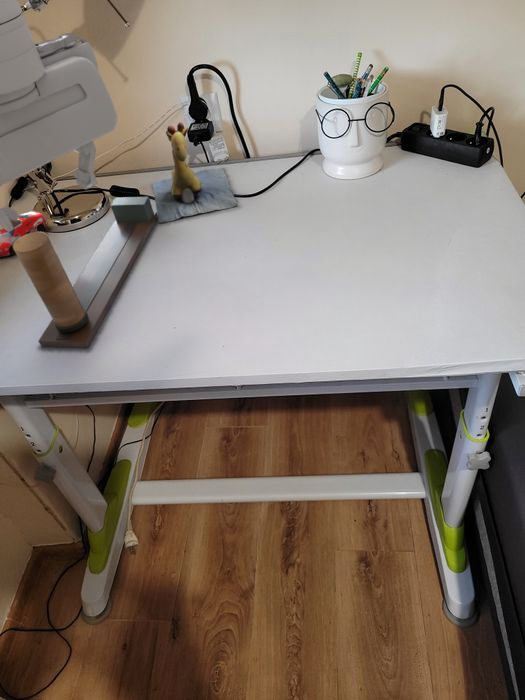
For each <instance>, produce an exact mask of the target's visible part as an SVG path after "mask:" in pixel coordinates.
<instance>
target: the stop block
mask: <svg viewBox="0 0 525 700" xmlns="http://www.w3.org/2000/svg"><path fill="white" fill-rule="evenodd" d="M110 208H111V210H112V213H113V216H114V219H115V220H116V222H150V220H151V218H152V217H153V215H154V209H153V206H152V203H151V199H150V197H149V196H127V197H126V196H125V197H124V196H123V197H122V196H121V197H115V198H114V199H113V201H112V203H111V204H110Z"/></svg>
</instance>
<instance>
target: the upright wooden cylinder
mask: <svg viewBox="0 0 525 700" xmlns="http://www.w3.org/2000/svg"><path fill="white" fill-rule="evenodd" d="M49 237H50V236H49V235H48V234H47V233H46V232H33V233H29V234H26V235H24V236H22V237H20V238H19V239H17V240H16V241H15V243H14V244H13V249H14V251H15V253H16V254H15V255H16V257H17V258H18V259H19V261H20V264H21V265H22V267H23V269H24V271H25V272H26V275H27V276H28V278H29V279H30V281H31V283H32V286H33V287H34V288H35V290H36V292H37V294H38V295H39V298H40V299H41V301H42V303H43V304H44V306H45V308H46V310H47V312H48V313H49V315H50V317H51V320H52V319H53V323H54V325H55V327H56V329H57V330H58V331H60V332H64V333H68V332H73V331H76V330H78V329H80V328H81V327H83V326H84V325H85V324H86V322H87V321H88V314H87V312H86V310H85V309H84V308H83V307H82V305H81V303H80V301H79V299H78V297H77V295H76V292H75V290H74V288H73V286H74V285H72V282H71V280H70V278H69V276H68V274H67V272H66V270H65V268H64V266H63V264H62V262H61V260H60V258H59V256H58V254H57V252H56V250H55V248H54V245H53V244H52V242H51V239H50V238H49Z"/></svg>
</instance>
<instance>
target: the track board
mask: <svg viewBox="0 0 525 700" xmlns="http://www.w3.org/2000/svg"><path fill="white" fill-rule="evenodd" d="M153 212H154V211H153ZM158 220H159V219H158V214H157V211H155V212H154V215H153V217H152V218H151V220H150V222H116V219H115V220H114V222H113V223H112V225H111V226H110V228H109V229H108V231H107V233H106V234H105V236H104V237H103V239H102V241H101V242H100V243H99V245H98V247H97V248H96V250H95V251H94V253H93V255H92V256H91V258H90V260H89V261H88V263H87V264H86V265H85V267H84V269H83V270H82V272H81V274H80V275H79V276H78V278H77V279H76V281H75V283H74V284H73V285H72V286H73V288H74V290H75V292H76V295H77V297H78V299H79V301H80V303H81V305H82V307H83V308H84V309H85V310H86V312H87V314H88V321H87V322H86V324H85V325H84V326H83V327H81V328H80V329H78V330H76V331H73V332H68V333H64V332H60V331H58V330H57V329H56V327H55V325H54V323H53V319H52V318H51V320H50V322H49V323H48V325H47V327H46V328H45V330H44V332H43V333H42V335H41V336H40V338H39V339H38V340H37V341H38V343H39V345H40V346H41V347H42V348H45V347H47V348H75V349H76V348H78V349H79V348H80V349H89V347H90V345H91V344H92V342H93V339H94V338H95V336H96V334H97V332H98V331H99V329H100V327H101V325H102V323H103V321H104V319H105V317H106V315H107V314H108V312H109V310H110V308H111V307H112V305H113V302H114V300H115V299H116V297H117V295H118V293H119V291H120V290H121V288H122V285H123V284H124V282H125V280H126V278H127V276H128V274H129V273H130V271H131V269H132V267H133V266H134V263H135V261H136V260H137V258H138V256H139V254H140V252H141V250H142V248H143V247H144V245H145V243H146V241H147V239H148V237H149V235H150V233H151V232H152V230H153V228H154V226H155V224H156V223H157V221H158Z"/></svg>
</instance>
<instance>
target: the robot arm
mask: <svg viewBox="0 0 525 700" xmlns="http://www.w3.org/2000/svg"><path fill="white" fill-rule="evenodd" d="M77 42H78V43H77ZM118 119H119V118H118V113H117V110H116V107H115V104H114V102H113V100H112V97H111V94H110V92H109V90H108V88H107V86H106V84H105V82H104V80H103V77H102V75H101V73H100V72H99V65H98V61H97V58H96V55H95V52H94V49H93V47H92V45H91V44H90V43H89V42H88V41H87V40H86V39H85V38H84V37H82V36H79V35H75V34H74V33H72V32H67V33H63V34H61V35H59V36H58V37H55V38H53V39H48V40H44V41H40V42H38V43H36V42H35V40H34V37H33V35H32V32H31V29H30V27H29V25H28V22H27V19H26V17H25V14H24V12H23V9H22V6H21V5H20V3H19V1H18V0H0V187H2V186H4V185H6V184H9V183H11V182H12V181H14V180H16V179H17V180H18V179H19V178H21V177H22V176H25V175H26V174H29V173H31V172H33V171H35V170H36V169H39V168H41V167H43V166H45V165H48V164H49V163H51V162H53V161H55V160H57V159H59V158H61V157H63V156H65V155H67V154H70V153H71V152H73V151H74V152H76V153H78V164H77V167H78V168H77V169H75V170H73V171H72V174H73V176H74V178H75V180H76V184H77V186H78V187H79V188H80V189H83V190H85V191H87V190H88V189H90V188H92V187H94V186H95V185H98V180H97V177H96V175H95V172H94V169H95V162H96V161H95V160H96V154H97V149H96V146H95V143H94V141H96V140H97V139H100V138H103V137H104V136H105V135H108V134H110V133H112V132H113V131H115V130H116V128H117V124H118ZM18 216H19V215H18V212H17V211H16V209H13V208H11V207H10V206H7V205H5V206H3V207H1V208H0V227H2V229H3V228H4V229H5V230H7V231H9V232H10V231H12V230H13V229H15V228H17V227H19V226H20V225H22V222H21V220H19V219H18Z"/></svg>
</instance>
